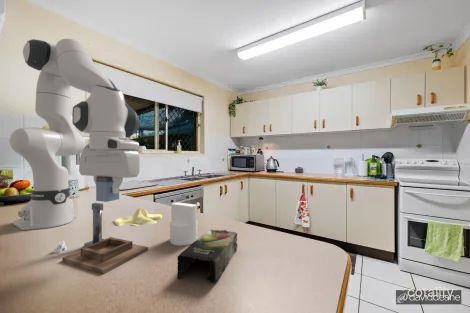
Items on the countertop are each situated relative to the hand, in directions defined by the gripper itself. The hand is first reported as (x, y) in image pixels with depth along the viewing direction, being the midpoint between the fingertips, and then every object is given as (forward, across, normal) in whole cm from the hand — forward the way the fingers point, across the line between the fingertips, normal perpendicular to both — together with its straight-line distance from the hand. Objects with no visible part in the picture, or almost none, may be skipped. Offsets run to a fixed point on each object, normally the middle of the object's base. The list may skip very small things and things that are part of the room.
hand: (107, 192), depth 61 cm
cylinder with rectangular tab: (+18, +13, +18) cm, 29 cm away
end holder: (+18, 0, 0) cm, 18 cm away
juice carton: (+18, +29, +8) cm, 35 cm away
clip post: (+18, -10, +4) cm, 21 cm away
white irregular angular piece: (+18, -17, -4) cm, 25 cm away
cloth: (+19, -17, +29) cm, 38 cm away
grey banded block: (+2, 0, 0) cm, 2 cm away
